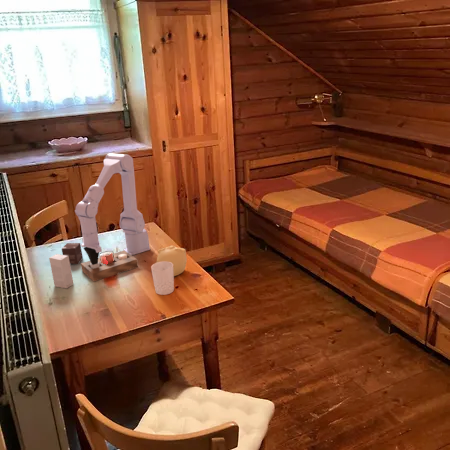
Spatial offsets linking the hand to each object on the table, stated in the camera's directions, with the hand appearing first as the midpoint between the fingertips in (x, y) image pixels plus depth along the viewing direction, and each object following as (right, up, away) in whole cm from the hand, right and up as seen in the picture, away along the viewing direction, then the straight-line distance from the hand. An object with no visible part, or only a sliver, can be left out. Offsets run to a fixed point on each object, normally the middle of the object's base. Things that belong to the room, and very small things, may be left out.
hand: (94, 263), depth 196 cm
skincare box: (-10, -8, -6) cm, 14 cm away
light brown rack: (+5, -3, +5) cm, 7 cm away
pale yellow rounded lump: (+31, -4, -1) cm, 31 cm away
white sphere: (0, -4, +1) cm, 4 cm away
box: (-12, 0, +14) cm, 19 cm away
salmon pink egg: (+5, 0, +4) cm, 6 cm away
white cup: (+30, -9, -15) cm, 34 cm away
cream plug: (+10, -1, +8) cm, 13 cm away
